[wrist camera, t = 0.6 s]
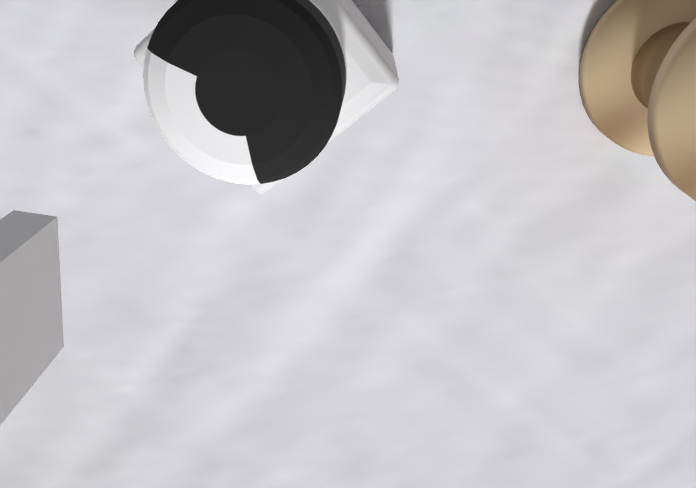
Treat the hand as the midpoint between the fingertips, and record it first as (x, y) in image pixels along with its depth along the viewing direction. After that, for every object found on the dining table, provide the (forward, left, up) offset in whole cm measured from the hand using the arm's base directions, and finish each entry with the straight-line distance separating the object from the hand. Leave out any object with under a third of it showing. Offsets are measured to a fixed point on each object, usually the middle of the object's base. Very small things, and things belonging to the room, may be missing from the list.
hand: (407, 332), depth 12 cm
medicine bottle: (-5, 0, -20) cm, 21 cm away
